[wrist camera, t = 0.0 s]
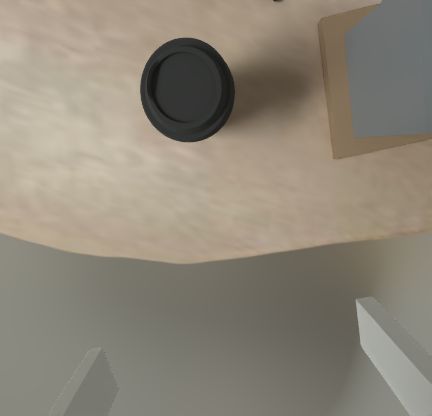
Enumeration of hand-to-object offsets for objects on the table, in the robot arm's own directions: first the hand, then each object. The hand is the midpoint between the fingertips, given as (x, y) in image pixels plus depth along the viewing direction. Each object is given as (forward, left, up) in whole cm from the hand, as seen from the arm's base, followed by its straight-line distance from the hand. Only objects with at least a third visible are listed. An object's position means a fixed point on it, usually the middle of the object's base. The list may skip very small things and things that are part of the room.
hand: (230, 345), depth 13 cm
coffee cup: (-15, 0, -28) cm, 32 cm away
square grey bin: (-13, +27, -28) cm, 41 cm away
